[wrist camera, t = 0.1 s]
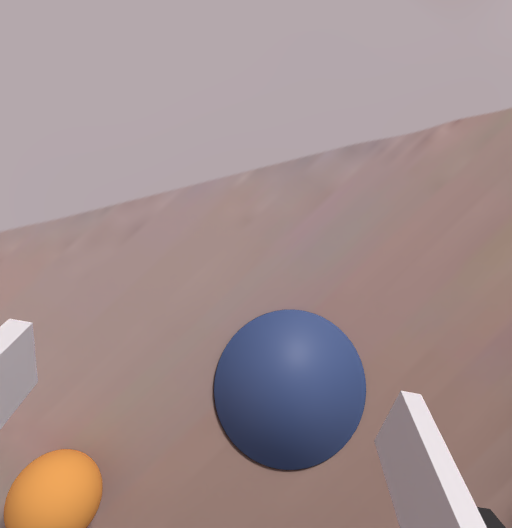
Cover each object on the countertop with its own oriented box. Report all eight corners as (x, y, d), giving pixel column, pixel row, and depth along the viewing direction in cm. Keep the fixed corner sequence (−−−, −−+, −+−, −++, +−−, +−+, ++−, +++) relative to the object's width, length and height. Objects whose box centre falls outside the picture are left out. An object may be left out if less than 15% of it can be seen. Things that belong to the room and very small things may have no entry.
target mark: (353, 480, 27) (354, 482, 27) (199, 454, 27) (199, 455, 26) (374, 325, 29) (375, 325, 29) (231, 296, 29) (231, 296, 28)
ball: (102, 526, 25) (68, 582, 20) (23, 513, 25) (-32, 567, 20) (121, 444, 26) (94, 477, 21) (46, 431, 26) (-1, 461, 21)
